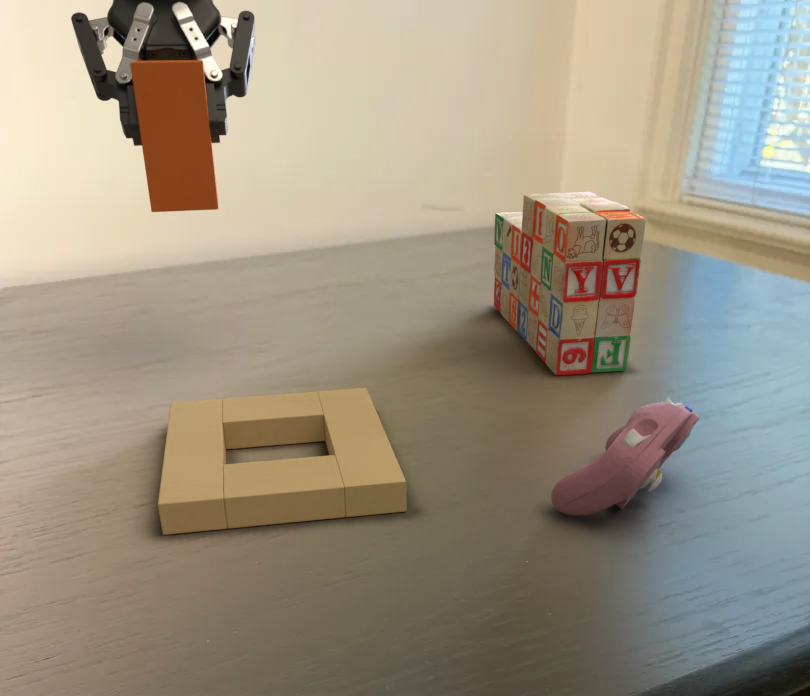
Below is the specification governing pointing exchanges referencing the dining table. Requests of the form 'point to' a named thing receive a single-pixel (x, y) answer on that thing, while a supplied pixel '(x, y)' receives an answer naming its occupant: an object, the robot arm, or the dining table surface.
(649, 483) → the pink curved elongated piece
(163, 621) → the dining table surface
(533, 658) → the dining table surface
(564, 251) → the stack of blocks
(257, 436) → the base pad
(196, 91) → the upright block
